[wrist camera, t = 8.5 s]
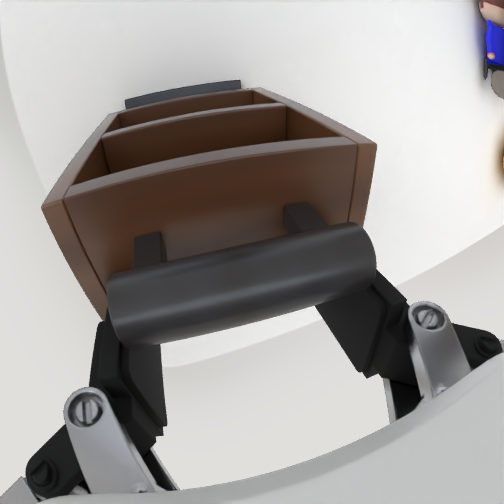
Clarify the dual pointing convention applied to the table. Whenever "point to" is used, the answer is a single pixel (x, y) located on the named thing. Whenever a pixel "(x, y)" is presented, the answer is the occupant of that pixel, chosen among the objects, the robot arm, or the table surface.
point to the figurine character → (494, 42)
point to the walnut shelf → (214, 214)
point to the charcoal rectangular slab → (182, 93)
